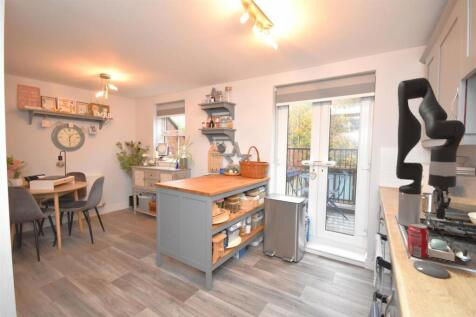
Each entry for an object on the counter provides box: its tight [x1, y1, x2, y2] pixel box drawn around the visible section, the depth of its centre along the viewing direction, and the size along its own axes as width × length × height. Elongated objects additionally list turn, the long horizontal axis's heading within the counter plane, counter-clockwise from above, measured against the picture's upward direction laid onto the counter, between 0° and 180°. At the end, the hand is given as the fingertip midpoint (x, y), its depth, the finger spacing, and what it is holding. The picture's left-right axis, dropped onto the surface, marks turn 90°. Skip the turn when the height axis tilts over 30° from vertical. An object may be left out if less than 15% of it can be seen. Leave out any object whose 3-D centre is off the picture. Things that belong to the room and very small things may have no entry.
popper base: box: [428, 242, 455, 262], centre depth 82 cm, size 7×7×3 cm
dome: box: [430, 238, 448, 252], centre depth 82 cm, size 4×4×4 cm
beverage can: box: [406, 223, 430, 259], centre depth 82 cm, size 6×6×12 cm
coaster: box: [412, 260, 450, 279], centre depth 73 cm, size 9×9×1 cm
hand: (440, 218), depth 81 cm, fingers closed
